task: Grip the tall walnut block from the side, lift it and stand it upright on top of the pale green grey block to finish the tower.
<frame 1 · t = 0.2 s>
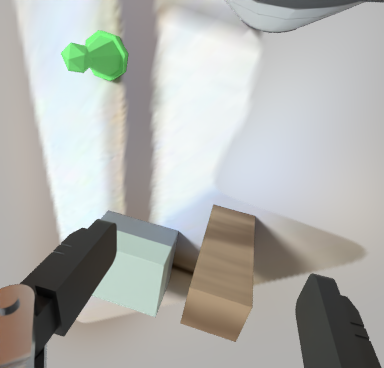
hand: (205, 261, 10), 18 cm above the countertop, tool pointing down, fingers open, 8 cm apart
game piece: (109, 56, 25), on the countertop
pale green grey block: (140, 247, 37), on the countertop
walnut block: (228, 226, 31), on the countertop
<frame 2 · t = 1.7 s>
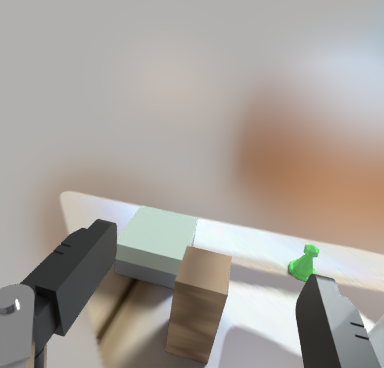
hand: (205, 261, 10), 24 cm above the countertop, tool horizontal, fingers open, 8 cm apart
game piece: (300, 272, 44), on the countertop
pale green grey block: (157, 257, 42), on the countertop
walnut block: (190, 336, 32), on the countertop
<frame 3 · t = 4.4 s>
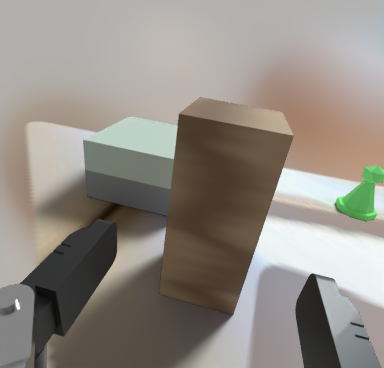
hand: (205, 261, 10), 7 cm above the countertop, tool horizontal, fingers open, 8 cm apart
game piece: (353, 211, 31), on the countertop
pale green grey block: (151, 185, 29), on the countertop
walnut block: (202, 275, 19), on the countertop
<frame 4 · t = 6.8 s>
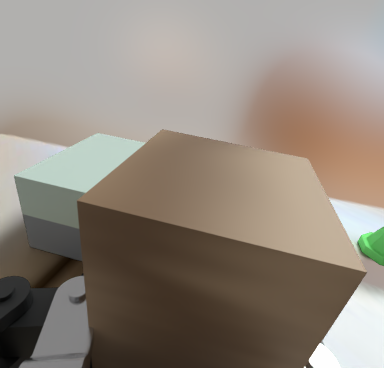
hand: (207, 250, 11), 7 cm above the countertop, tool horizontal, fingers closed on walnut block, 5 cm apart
game piece: (381, 254, 24), on the countertop
pale green grey block: (122, 223, 23), on the countertop
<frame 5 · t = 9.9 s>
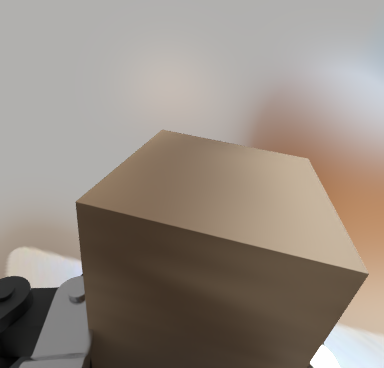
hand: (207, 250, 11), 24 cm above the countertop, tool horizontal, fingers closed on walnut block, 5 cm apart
when the fingers open (14 cm above the countertop, at t = 13.2 s): walnut block drops 1 cm, resting on pale green grey block.
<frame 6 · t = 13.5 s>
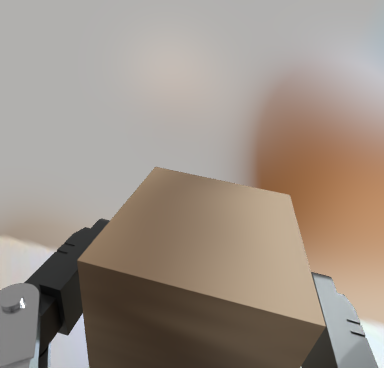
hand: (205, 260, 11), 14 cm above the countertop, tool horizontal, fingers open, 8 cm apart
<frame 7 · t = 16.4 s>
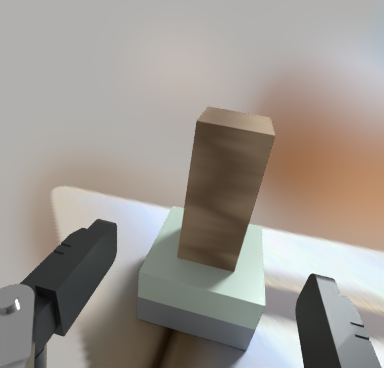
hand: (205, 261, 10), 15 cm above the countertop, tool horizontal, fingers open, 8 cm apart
pale green grey block: (200, 288, 27), on the countertop
walnut block: (209, 245, 24), point 6 cm above the countertop, touching pale green grey block
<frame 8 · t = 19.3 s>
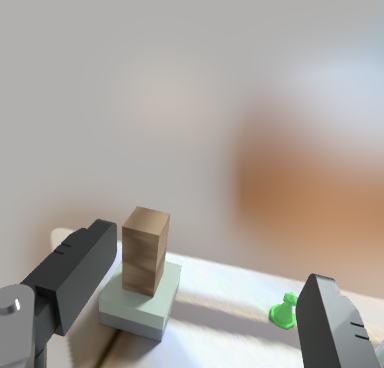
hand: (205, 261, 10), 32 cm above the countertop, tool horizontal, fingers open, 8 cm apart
game piece: (281, 318, 45), on the countertop
pale green grey block: (142, 304, 43), on the countertop
walnut block: (143, 280, 41), point 6 cm above the countertop, touching pale green grey block
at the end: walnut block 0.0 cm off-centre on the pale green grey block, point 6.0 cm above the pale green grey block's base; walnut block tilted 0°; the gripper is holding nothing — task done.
